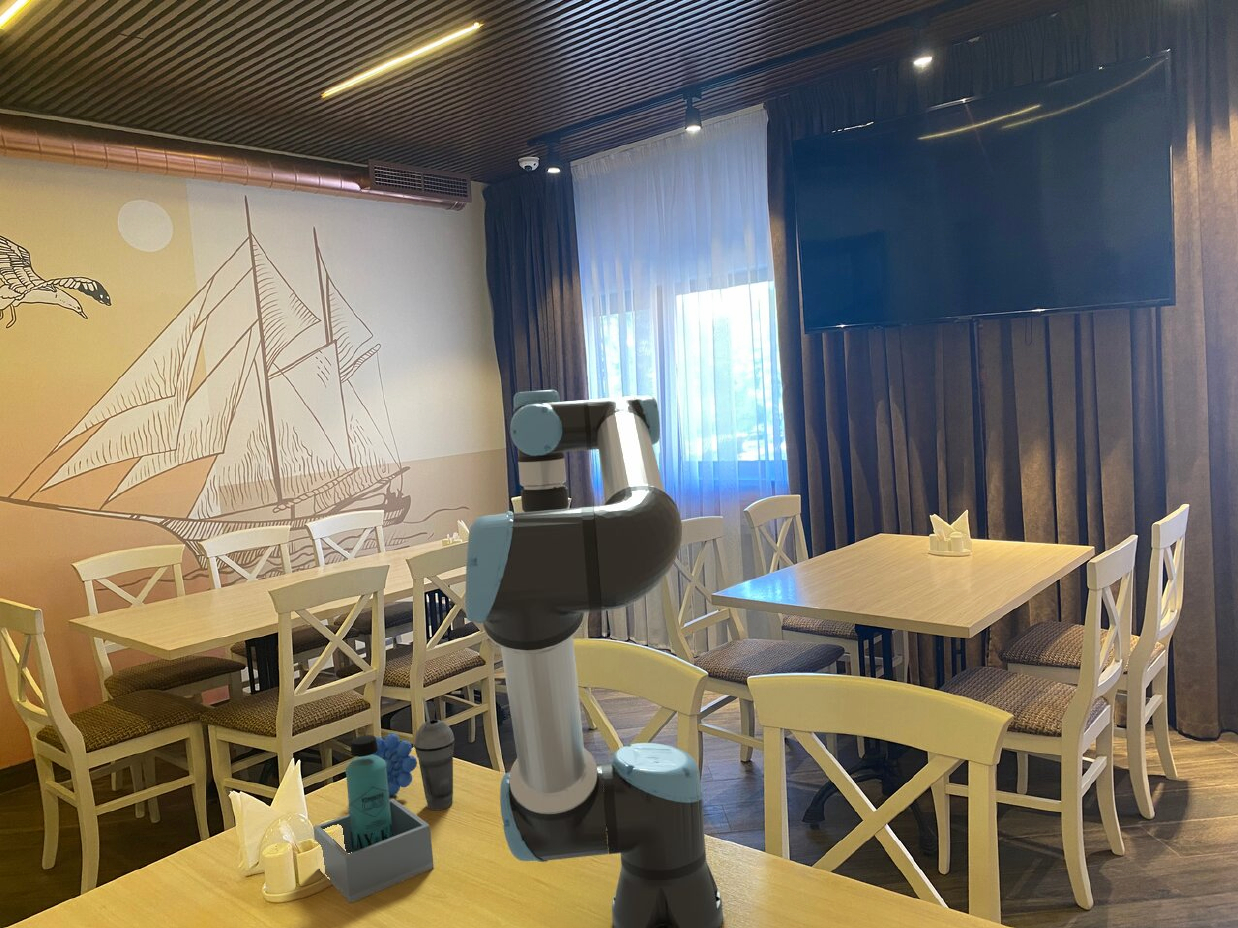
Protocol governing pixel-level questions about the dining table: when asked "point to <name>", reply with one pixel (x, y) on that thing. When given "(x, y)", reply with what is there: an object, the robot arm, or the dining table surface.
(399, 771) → the grapes
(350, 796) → the beverage bottle
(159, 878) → the dining table surface
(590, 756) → the robot arm
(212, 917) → the dining table surface
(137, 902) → the dining table surface
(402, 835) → the crate
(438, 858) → the dining table surface
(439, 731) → the beverage cup
